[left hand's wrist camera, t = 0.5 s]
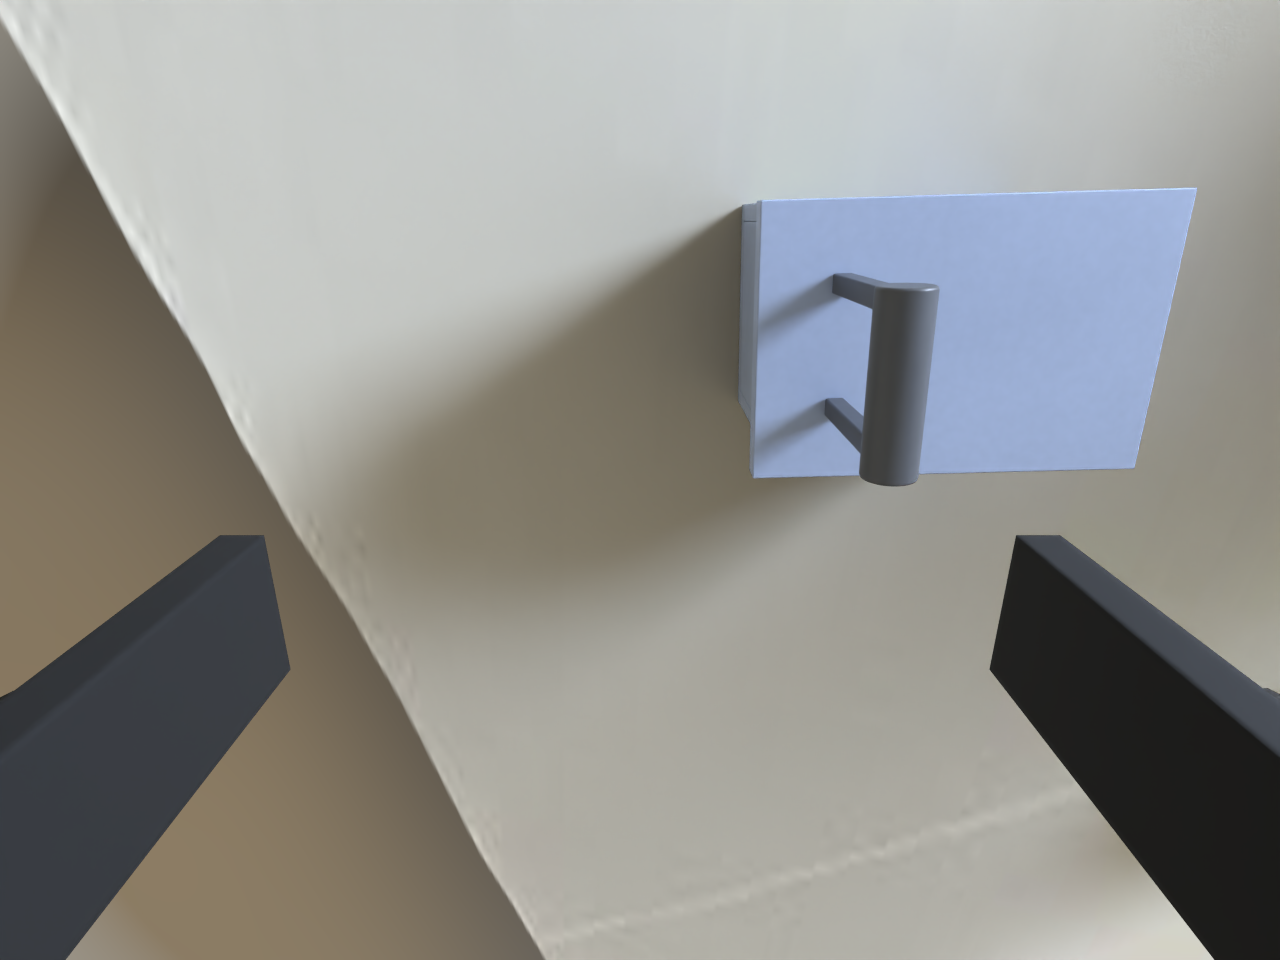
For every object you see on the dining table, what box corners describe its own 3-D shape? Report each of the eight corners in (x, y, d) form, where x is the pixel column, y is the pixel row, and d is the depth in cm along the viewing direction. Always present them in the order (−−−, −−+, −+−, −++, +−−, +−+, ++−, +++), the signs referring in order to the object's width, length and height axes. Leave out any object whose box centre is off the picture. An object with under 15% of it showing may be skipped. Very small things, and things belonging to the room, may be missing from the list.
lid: (749, 470, 29) (788, 563, 21) (756, 200, 25) (807, 193, 18) (1118, 461, 29) (1295, 551, 21) (1177, 188, 25) (1416, 176, 17)
